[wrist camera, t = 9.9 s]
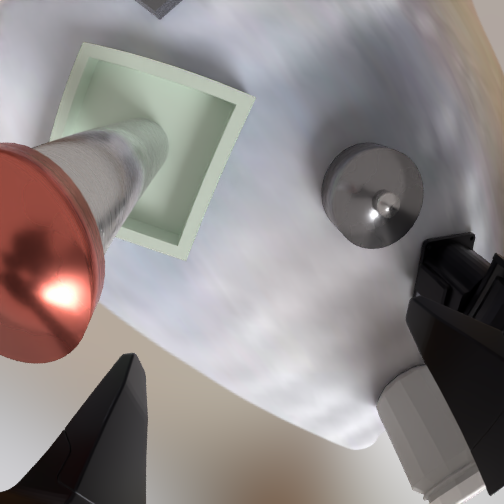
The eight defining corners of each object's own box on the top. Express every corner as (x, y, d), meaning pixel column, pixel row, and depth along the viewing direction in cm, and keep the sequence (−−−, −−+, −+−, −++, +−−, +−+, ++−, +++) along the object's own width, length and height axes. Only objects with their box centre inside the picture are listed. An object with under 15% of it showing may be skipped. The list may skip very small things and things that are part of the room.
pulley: (407, 142, 20) (434, 151, 17) (402, 229, 24) (425, 247, 20) (319, 145, 20) (339, 153, 17) (322, 240, 23) (338, 262, 20)
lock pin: (151, 96, 16) (-10, 95, 3) (189, 159, 18) (141, 316, 5) (90, 139, 17) (-97, 240, 4) (128, 197, 19) (14, 382, 6)
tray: (250, 98, 18) (256, 97, 16) (187, 244, 22) (185, 261, 20) (97, 47, 15) (83, 41, 13) (51, 196, 19) (36, 208, 17)
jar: (377, 376, 32) (443, 509, 16) (445, 349, 32) (520, 458, 16) (369, 419, 36) (415, 528, 20) (429, 395, 37) (483, 490, 21)
